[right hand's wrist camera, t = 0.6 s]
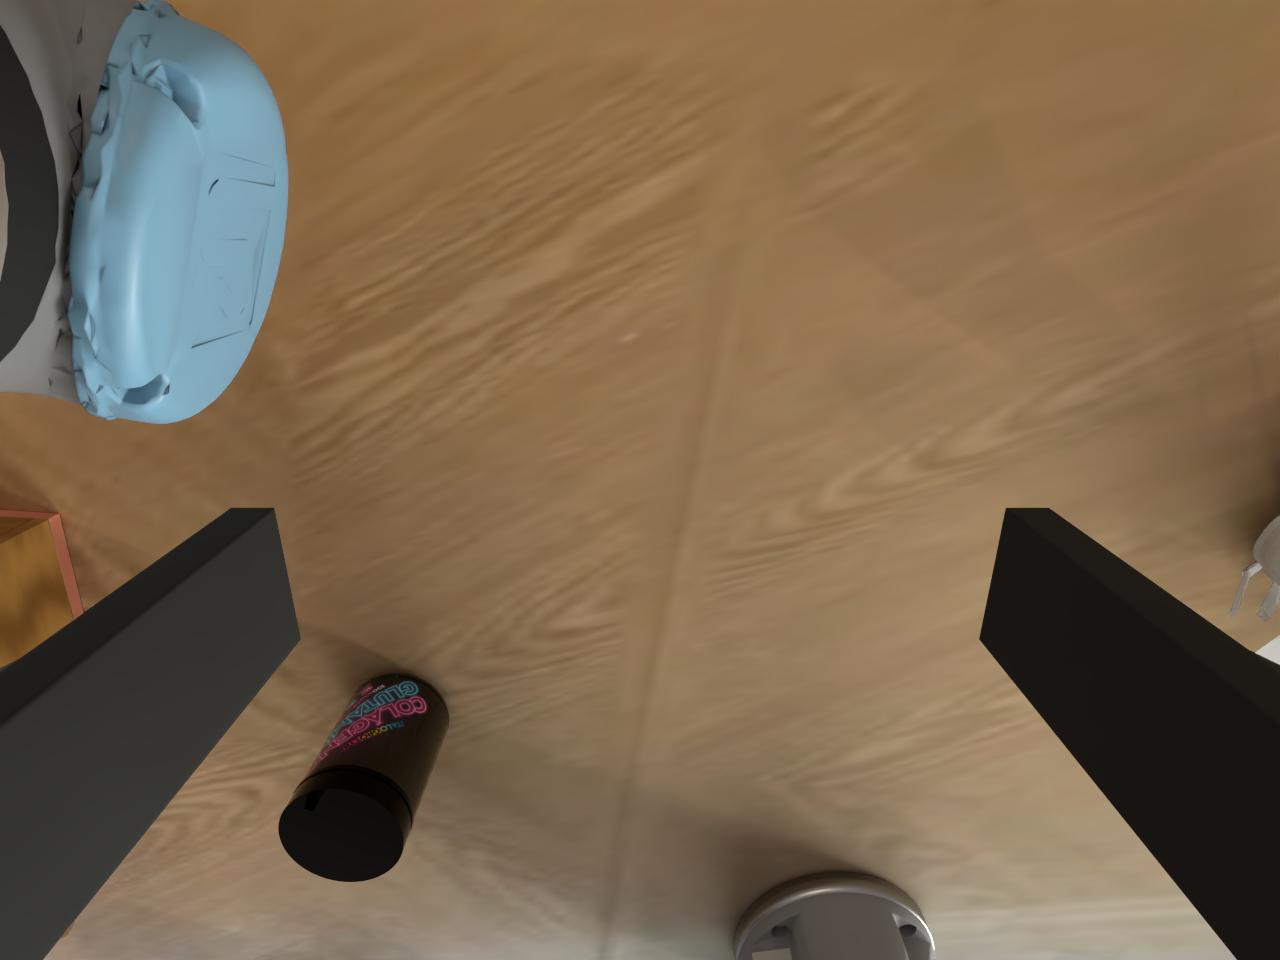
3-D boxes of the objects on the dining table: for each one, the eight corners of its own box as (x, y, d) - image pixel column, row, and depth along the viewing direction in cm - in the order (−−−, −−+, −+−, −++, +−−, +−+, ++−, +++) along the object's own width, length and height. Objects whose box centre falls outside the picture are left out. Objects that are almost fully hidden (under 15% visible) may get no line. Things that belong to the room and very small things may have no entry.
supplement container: (462, 681, 46) (415, 805, 37) (442, 758, 49) (392, 893, 39) (362, 656, 46) (286, 775, 36) (346, 734, 48) (270, 867, 38)
